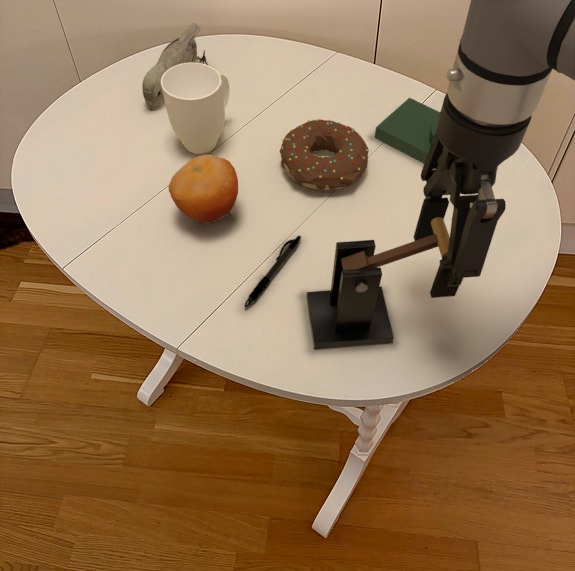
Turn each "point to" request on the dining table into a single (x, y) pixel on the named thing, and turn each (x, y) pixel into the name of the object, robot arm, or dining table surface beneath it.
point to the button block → (410, 129)
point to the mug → (196, 104)
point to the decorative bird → (171, 63)
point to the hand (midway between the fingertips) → (433, 265)
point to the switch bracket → (350, 304)
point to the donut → (326, 169)
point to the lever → (402, 249)
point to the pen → (272, 270)
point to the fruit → (205, 188)
